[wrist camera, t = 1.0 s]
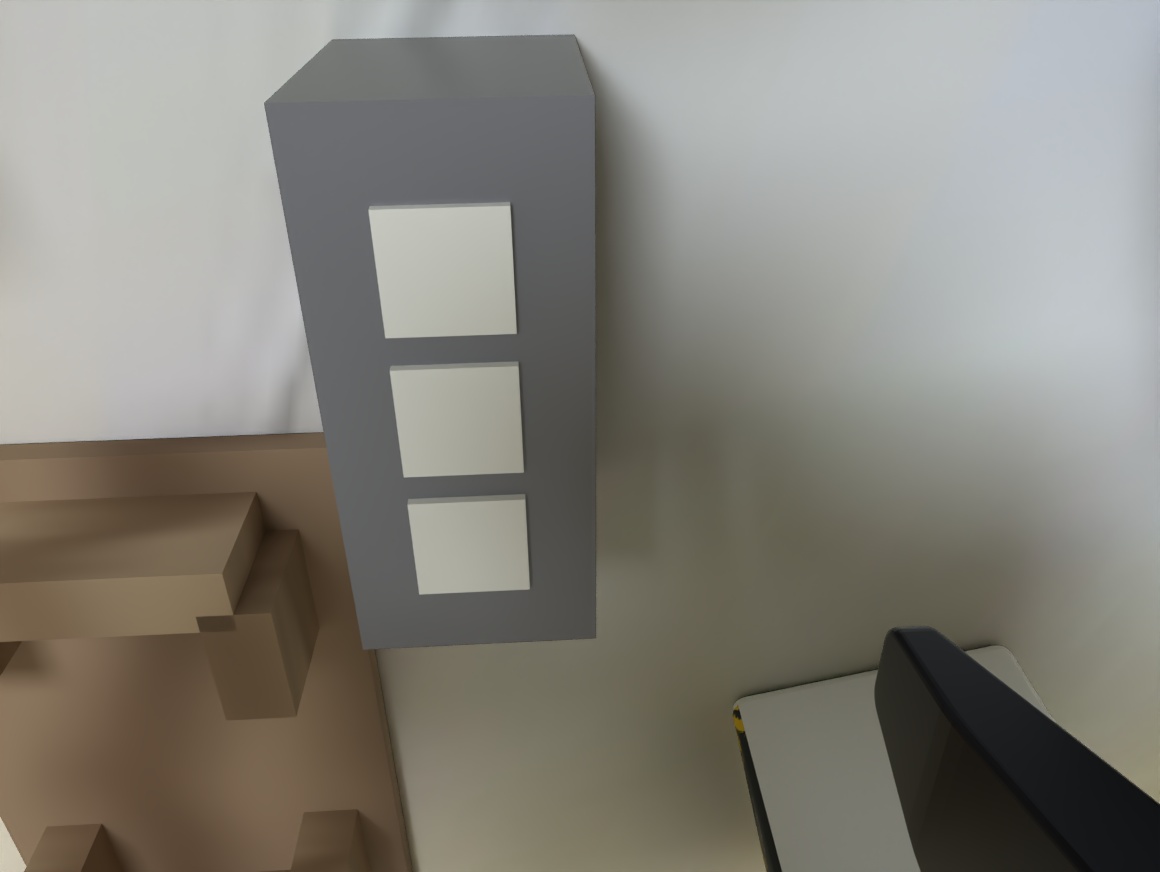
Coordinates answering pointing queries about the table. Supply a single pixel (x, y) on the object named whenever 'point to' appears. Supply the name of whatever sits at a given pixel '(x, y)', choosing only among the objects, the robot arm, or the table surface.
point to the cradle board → (187, 663)
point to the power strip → (451, 326)
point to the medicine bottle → (834, 772)
